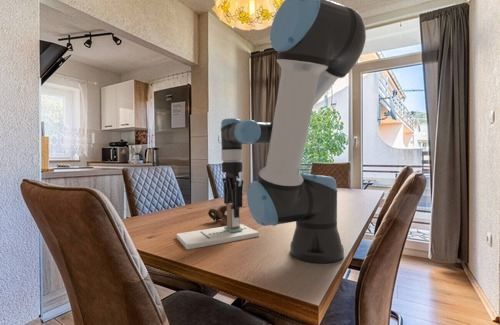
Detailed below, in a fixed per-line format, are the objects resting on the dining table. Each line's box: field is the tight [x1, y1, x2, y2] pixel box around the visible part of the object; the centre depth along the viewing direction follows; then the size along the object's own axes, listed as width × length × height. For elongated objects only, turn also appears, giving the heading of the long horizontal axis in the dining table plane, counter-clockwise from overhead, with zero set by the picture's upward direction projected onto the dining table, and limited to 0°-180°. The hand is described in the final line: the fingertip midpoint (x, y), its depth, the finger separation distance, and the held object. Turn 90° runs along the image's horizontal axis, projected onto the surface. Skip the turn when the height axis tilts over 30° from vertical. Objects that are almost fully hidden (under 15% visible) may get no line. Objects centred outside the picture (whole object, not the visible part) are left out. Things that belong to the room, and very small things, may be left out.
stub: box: [223, 203, 243, 232], centre depth 98 cm, size 6×5×10 cm
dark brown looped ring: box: [207, 205, 227, 226], centre depth 116 cm, size 12×10×8 cm
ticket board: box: [176, 223, 260, 250], centre depth 95 cm, size 14×26×2 cm, turn 119°
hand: (233, 224), depth 98 cm, fingers closed on stub, 3 cm apart
